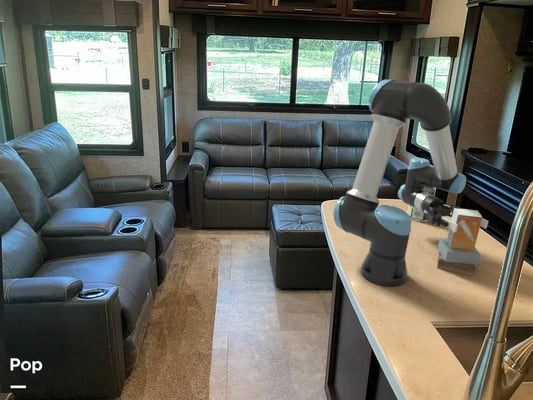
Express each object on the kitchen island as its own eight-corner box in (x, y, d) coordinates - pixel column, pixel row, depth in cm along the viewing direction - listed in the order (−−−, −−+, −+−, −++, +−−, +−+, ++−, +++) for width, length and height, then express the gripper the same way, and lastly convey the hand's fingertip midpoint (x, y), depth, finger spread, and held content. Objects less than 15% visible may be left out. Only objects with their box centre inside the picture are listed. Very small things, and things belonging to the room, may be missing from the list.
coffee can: (425, 214, 199) (430, 185, 195) (432, 222, 190) (438, 193, 185) (403, 212, 199) (408, 184, 195) (410, 221, 190) (415, 191, 185)
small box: (450, 248, 148) (457, 214, 144) (446, 240, 154) (453, 207, 150) (474, 251, 147) (483, 217, 142) (469, 243, 153) (477, 210, 148)
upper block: (478, 265, 146) (480, 254, 145) (445, 261, 147) (447, 251, 146) (468, 250, 156) (470, 241, 155) (437, 247, 158) (439, 237, 156)
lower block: (473, 277, 146) (476, 267, 144) (436, 269, 150) (438, 259, 149) (472, 262, 156) (474, 253, 155) (438, 255, 160) (440, 245, 159)
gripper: (452, 211, 169) (496, 232, 150) (401, 216, 160) (440, 240, 141) (456, 193, 166) (501, 213, 147) (404, 198, 157) (445, 219, 139)
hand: (471, 226), depth 144 cm, fingers open, 13 cm apart
